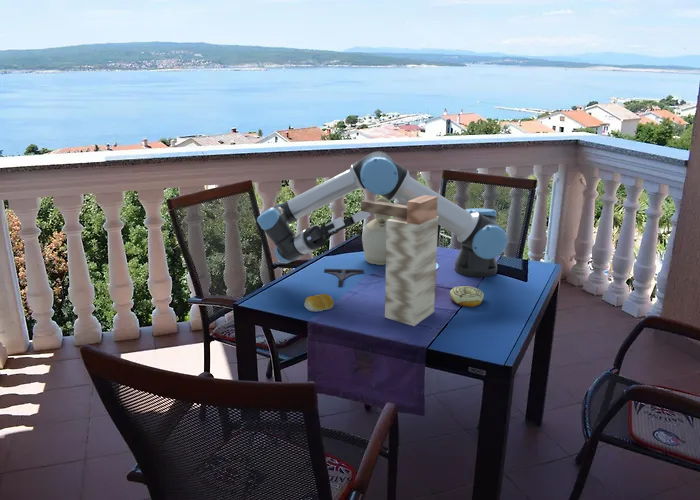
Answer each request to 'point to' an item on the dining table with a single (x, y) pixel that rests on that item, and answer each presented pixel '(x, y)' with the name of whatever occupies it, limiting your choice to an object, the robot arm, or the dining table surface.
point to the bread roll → (319, 302)
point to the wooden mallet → (405, 209)
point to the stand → (410, 270)
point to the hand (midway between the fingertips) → (355, 216)
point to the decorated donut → (467, 296)
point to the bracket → (343, 273)
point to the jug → (376, 238)
